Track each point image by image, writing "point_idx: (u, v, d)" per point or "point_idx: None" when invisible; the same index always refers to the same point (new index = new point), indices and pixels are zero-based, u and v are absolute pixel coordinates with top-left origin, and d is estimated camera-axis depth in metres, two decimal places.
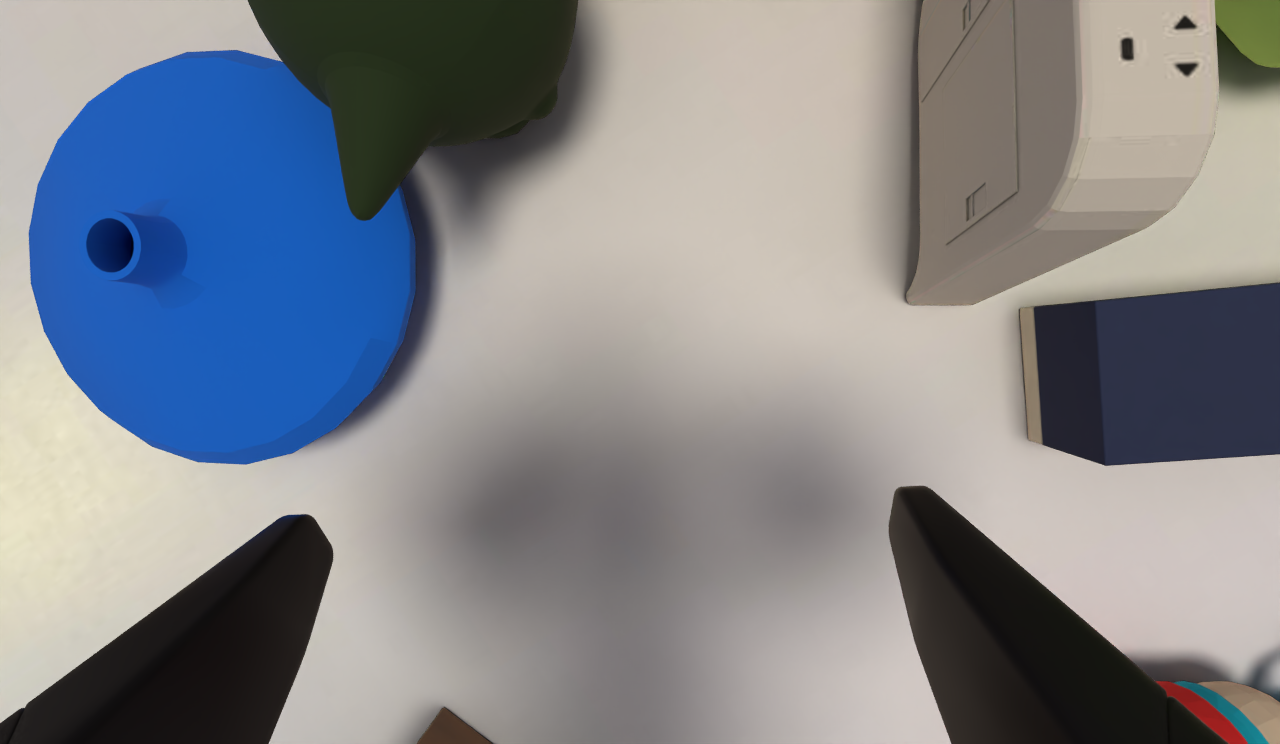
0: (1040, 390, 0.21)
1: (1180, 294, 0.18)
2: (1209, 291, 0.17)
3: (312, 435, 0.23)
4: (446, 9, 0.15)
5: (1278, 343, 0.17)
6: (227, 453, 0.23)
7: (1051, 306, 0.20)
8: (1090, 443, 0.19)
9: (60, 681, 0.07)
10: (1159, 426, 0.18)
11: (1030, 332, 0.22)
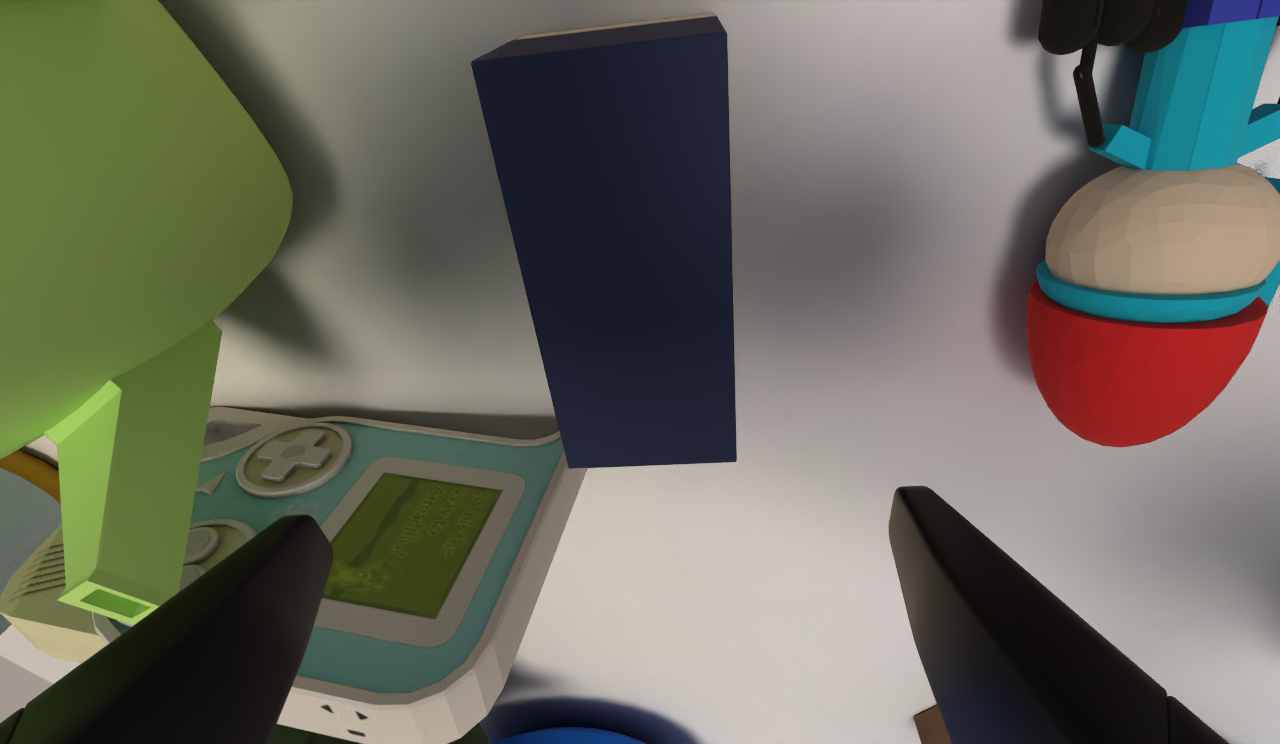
0: None
1: (555, 407, 0.17)
2: (550, 385, 0.16)
3: None
4: None
5: (602, 327, 0.15)
6: None
7: None
8: None
9: (60, 681, 0.07)
10: (696, 423, 0.17)
11: None
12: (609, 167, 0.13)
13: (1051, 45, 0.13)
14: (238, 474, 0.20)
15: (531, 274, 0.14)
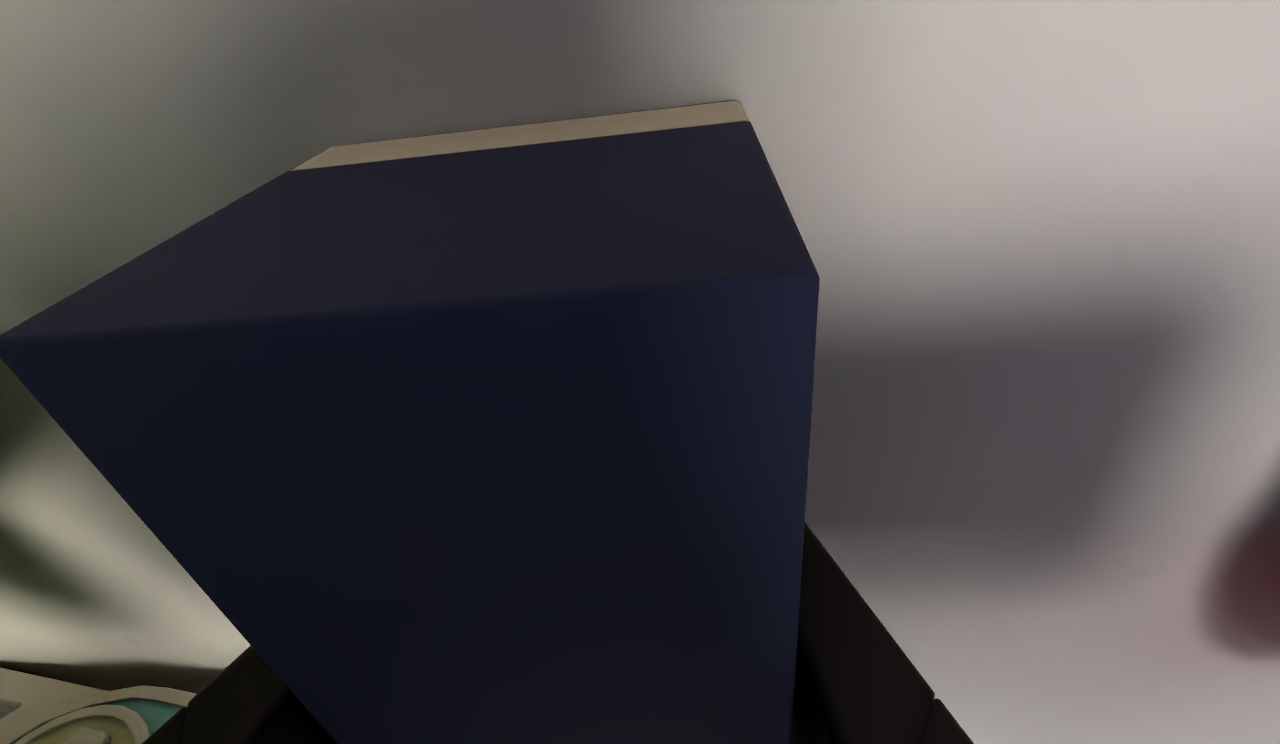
0: None
1: None
2: None
3: None
4: None
5: None
6: None
7: None
8: None
9: (217, 679, 0.07)
10: None
11: None
12: (474, 565, 0.05)
13: None
14: None
15: (330, 710, 0.06)
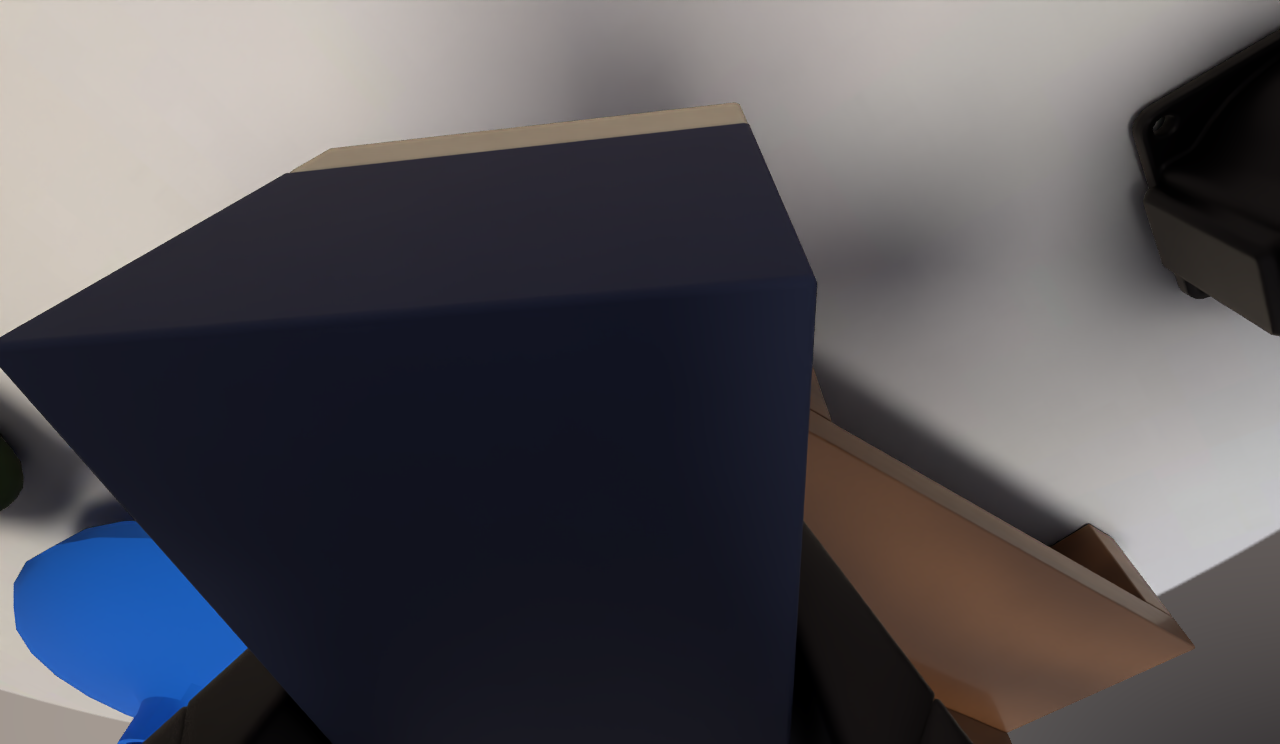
0: None
1: None
2: None
3: None
4: None
5: None
6: None
7: None
8: None
9: (217, 678, 0.07)
10: None
11: None
12: (471, 568, 0.05)
13: None
14: None
15: (328, 714, 0.06)
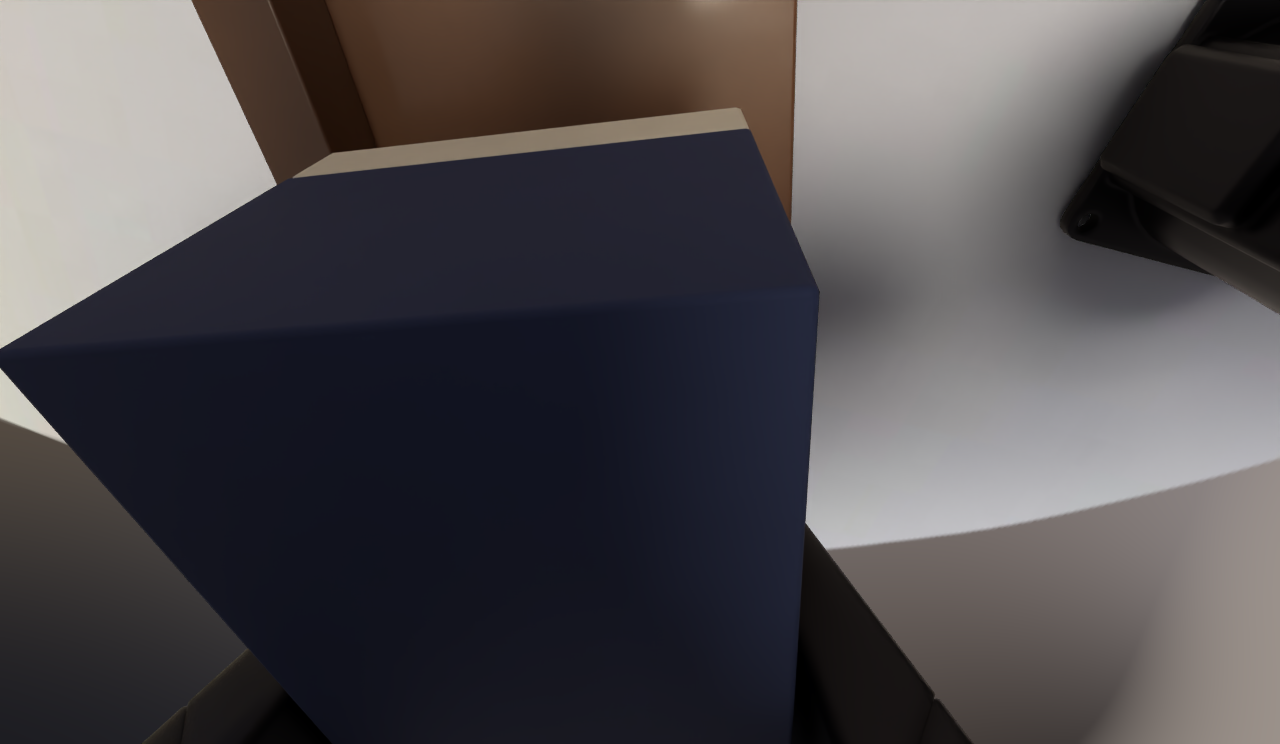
0: None
1: None
2: None
3: None
4: None
5: None
6: None
7: None
8: None
9: (217, 678, 0.07)
10: None
11: None
12: (474, 574, 0.05)
13: None
14: None
15: (331, 717, 0.06)
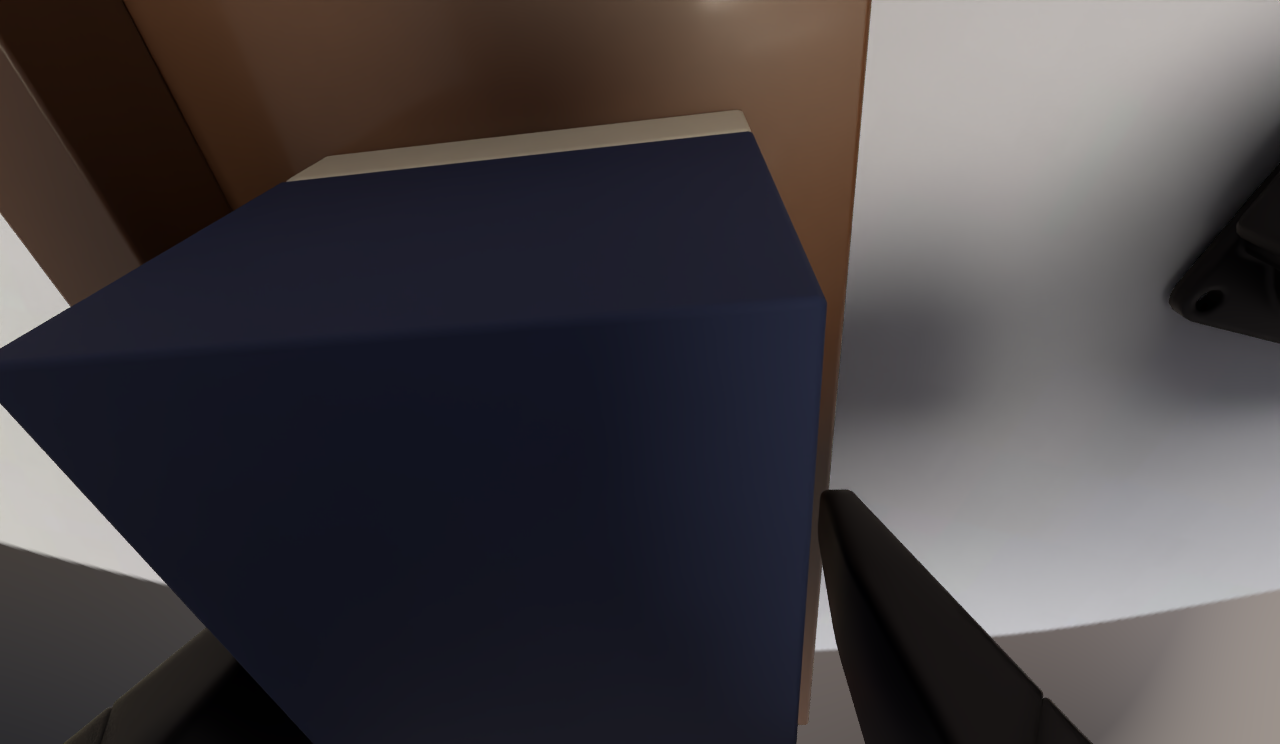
0: None
1: None
2: None
3: None
4: None
5: None
6: None
7: None
8: None
9: (144, 680, 0.07)
10: None
11: None
12: (472, 589, 0.05)
13: None
14: None
15: (325, 732, 0.06)
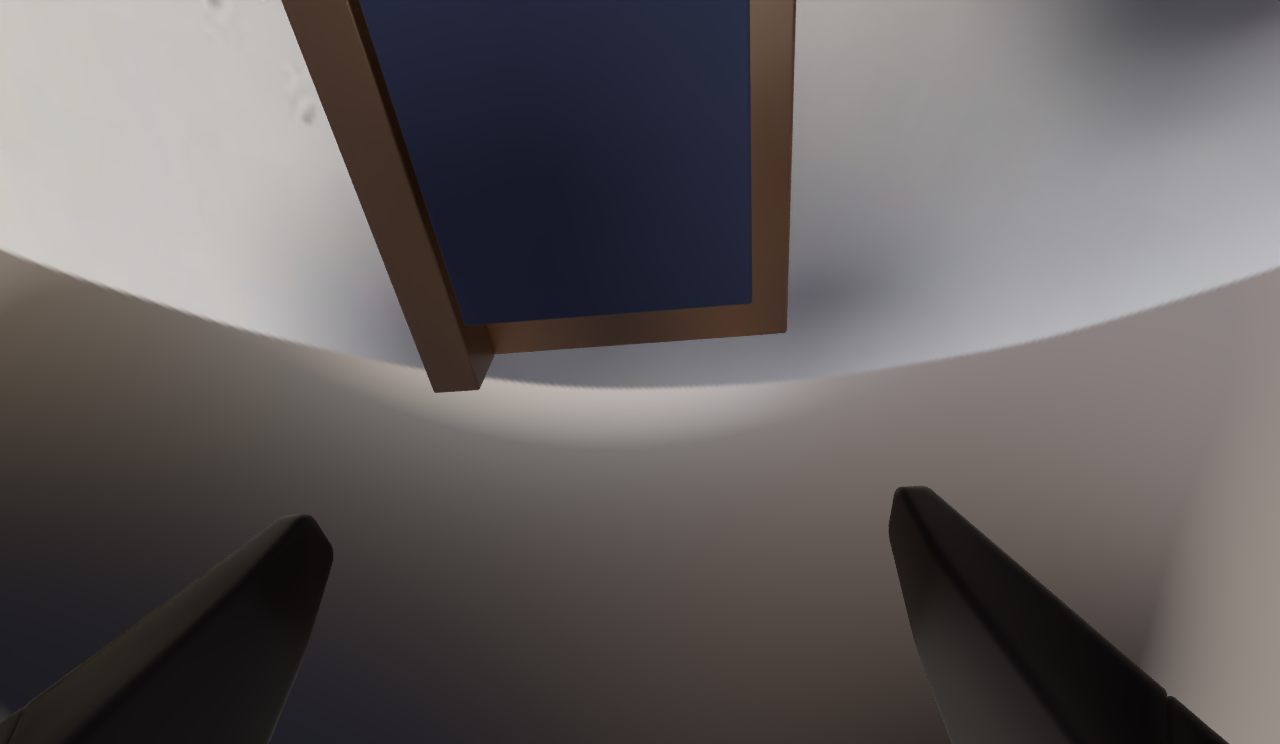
0: None
1: (425, 194, 0.09)
2: (408, 142, 0.09)
3: None
4: None
5: None
6: None
7: None
8: None
9: (60, 681, 0.07)
10: (680, 220, 0.09)
11: None
12: None
13: None
14: None
15: None
